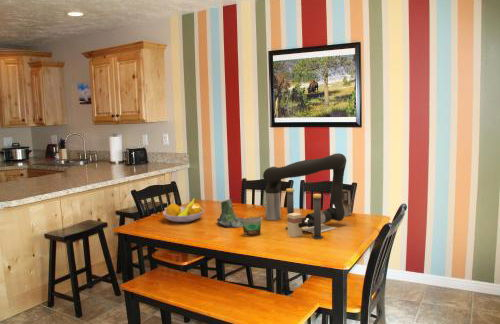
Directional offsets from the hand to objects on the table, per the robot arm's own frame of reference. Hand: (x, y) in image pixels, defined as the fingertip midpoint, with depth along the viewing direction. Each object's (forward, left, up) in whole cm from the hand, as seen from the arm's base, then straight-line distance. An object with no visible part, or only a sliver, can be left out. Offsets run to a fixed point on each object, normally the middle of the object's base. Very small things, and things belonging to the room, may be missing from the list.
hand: (293, 224), depth 229 cm
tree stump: (-42, -13, -7) cm, 45 cm away
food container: (-16, -17, -7) cm, 24 cm away
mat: (0, +18, -7) cm, 20 cm away
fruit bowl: (-73, -31, -7) cm, 79 cm away
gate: (0, +7, -7) cm, 10 cm away
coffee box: (-14, +53, -7) cm, 56 cm away
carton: (0, 0, -7) cm, 7 cm away
